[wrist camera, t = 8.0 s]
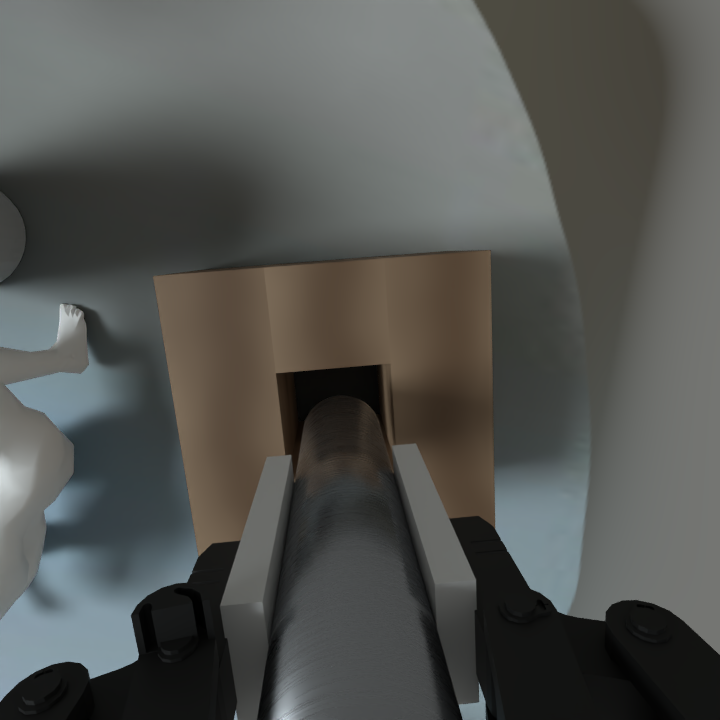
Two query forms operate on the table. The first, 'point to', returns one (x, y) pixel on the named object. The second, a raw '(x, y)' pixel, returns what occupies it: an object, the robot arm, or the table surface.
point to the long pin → (351, 588)
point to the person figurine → (32, 454)
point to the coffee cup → (10, 237)
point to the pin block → (326, 351)
